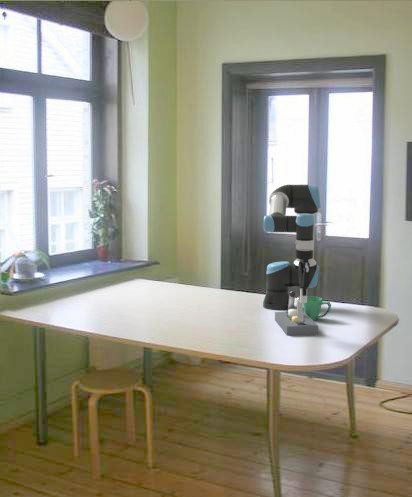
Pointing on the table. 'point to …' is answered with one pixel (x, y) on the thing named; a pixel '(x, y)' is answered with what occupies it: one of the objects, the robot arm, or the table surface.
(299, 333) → the panel
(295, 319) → the button mustard
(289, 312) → the button ivory
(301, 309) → the lever
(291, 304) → the lever
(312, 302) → the mug
